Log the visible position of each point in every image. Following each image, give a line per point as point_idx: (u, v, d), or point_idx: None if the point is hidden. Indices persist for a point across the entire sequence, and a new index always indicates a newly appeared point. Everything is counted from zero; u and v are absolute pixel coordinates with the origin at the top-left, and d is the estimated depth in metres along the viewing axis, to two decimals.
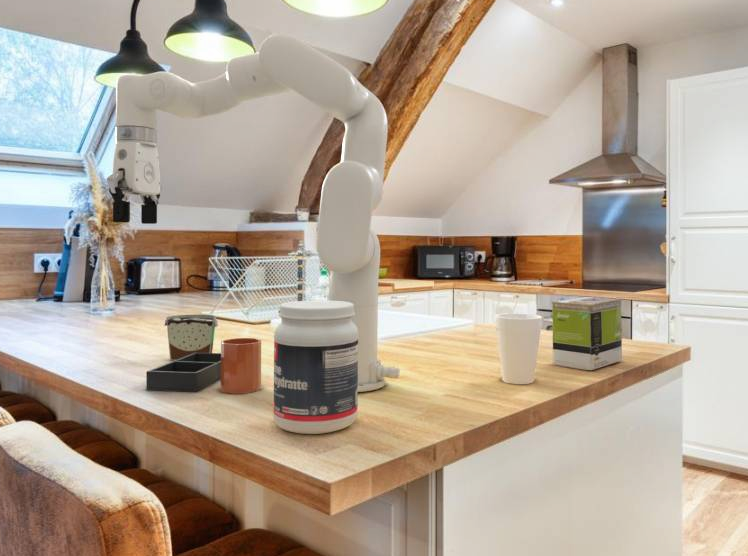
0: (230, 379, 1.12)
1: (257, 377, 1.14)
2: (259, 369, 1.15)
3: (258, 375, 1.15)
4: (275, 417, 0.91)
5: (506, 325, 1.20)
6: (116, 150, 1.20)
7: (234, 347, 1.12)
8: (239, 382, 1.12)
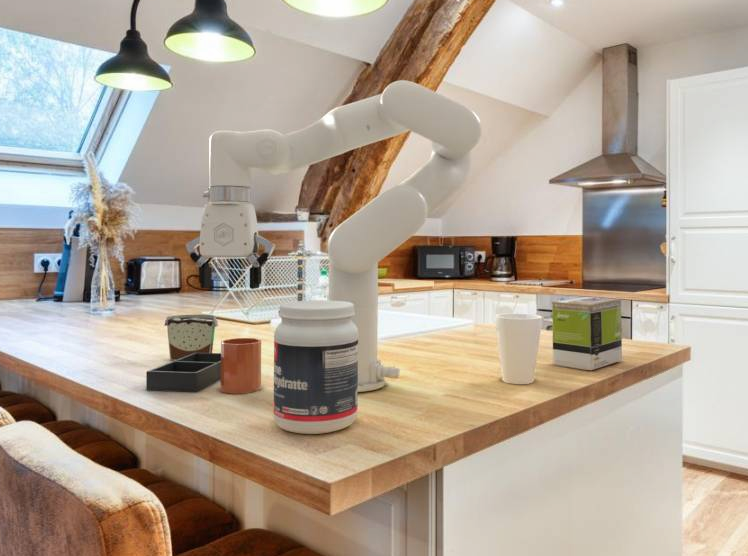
0: (230, 379, 1.12)
1: (257, 377, 1.14)
2: (259, 369, 1.15)
3: (258, 375, 1.15)
4: (275, 417, 0.91)
5: (506, 325, 1.20)
6: None
7: (234, 347, 1.12)
8: (239, 382, 1.12)
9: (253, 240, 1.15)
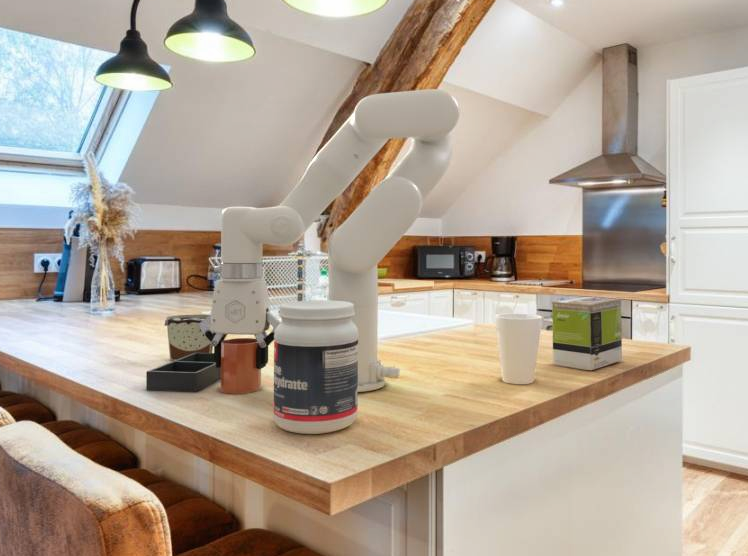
0: (230, 379, 1.12)
1: (257, 377, 1.14)
2: (259, 369, 1.15)
3: (258, 375, 1.15)
4: (275, 417, 0.91)
5: (506, 325, 1.20)
6: None
7: (234, 347, 1.12)
8: (239, 382, 1.12)
9: (265, 317, 1.14)
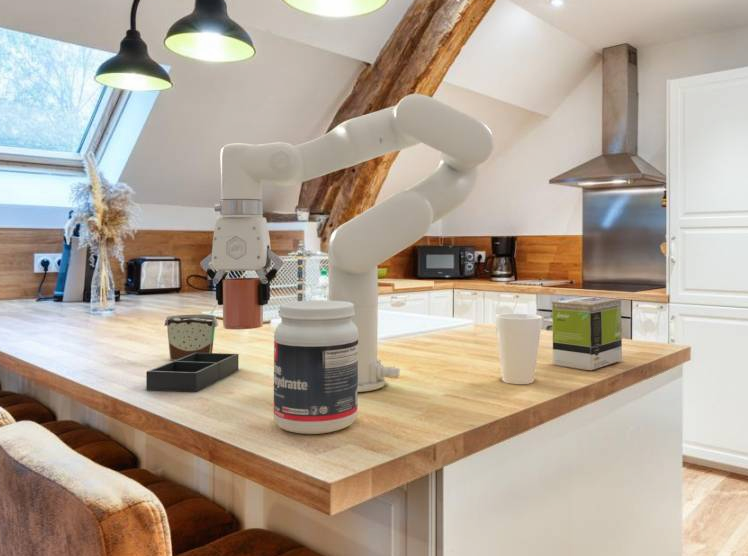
0: (232, 315, 1.12)
1: (259, 314, 1.15)
2: (261, 306, 1.15)
3: (260, 312, 1.15)
4: (275, 417, 0.91)
5: (506, 325, 1.20)
6: None
7: (236, 283, 1.12)
8: (241, 318, 1.12)
9: (266, 253, 1.14)
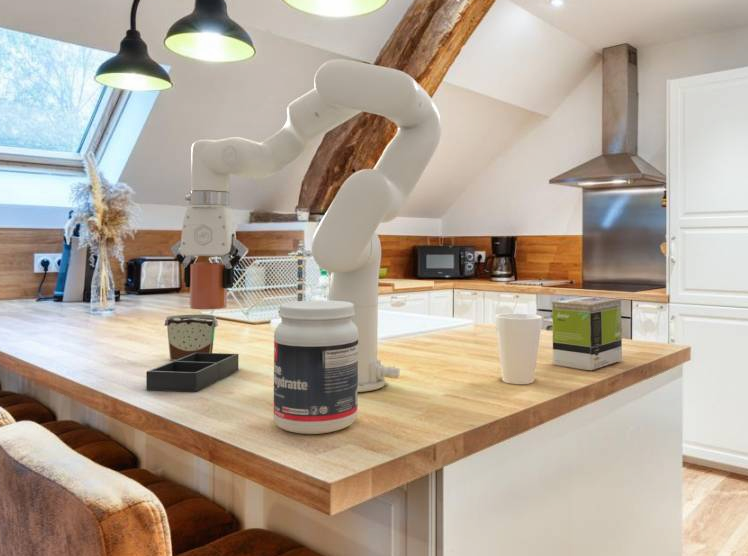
0: (198, 296, 1.23)
1: (223, 296, 1.25)
2: (225, 289, 1.26)
3: (224, 294, 1.25)
4: (275, 417, 0.91)
5: (506, 325, 1.20)
6: None
7: (202, 267, 1.23)
8: (206, 299, 1.23)
9: (230, 241, 1.25)
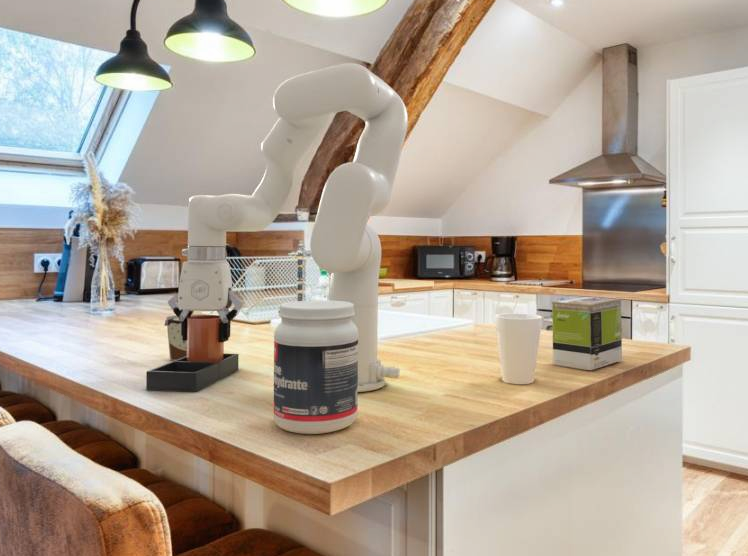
0: (194, 350, 1.24)
1: (219, 350, 1.26)
2: (221, 342, 1.27)
3: (220, 348, 1.27)
4: (275, 417, 0.91)
5: (506, 325, 1.20)
6: None
7: (198, 322, 1.24)
8: (202, 353, 1.24)
9: (227, 295, 1.26)
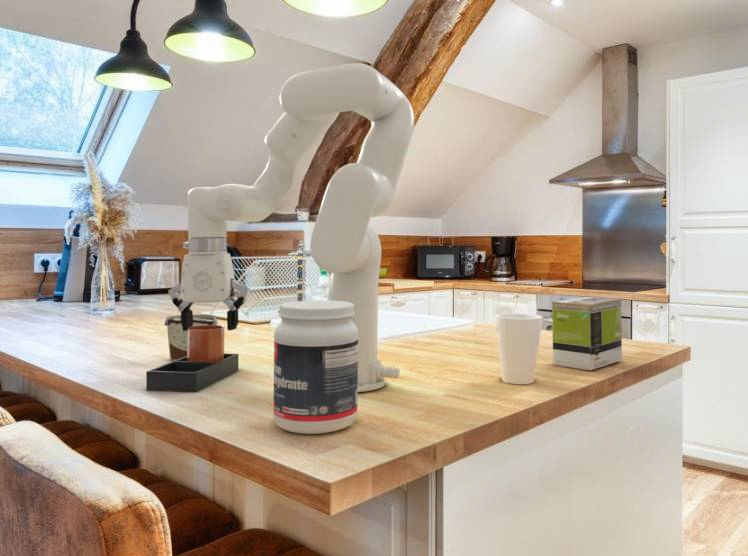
0: (195, 361, 1.24)
1: (220, 360, 1.26)
2: (222, 353, 1.27)
3: (221, 358, 1.27)
4: (275, 417, 0.91)
5: (506, 325, 1.20)
6: None
7: (199, 333, 1.24)
8: None
9: (229, 286, 1.26)
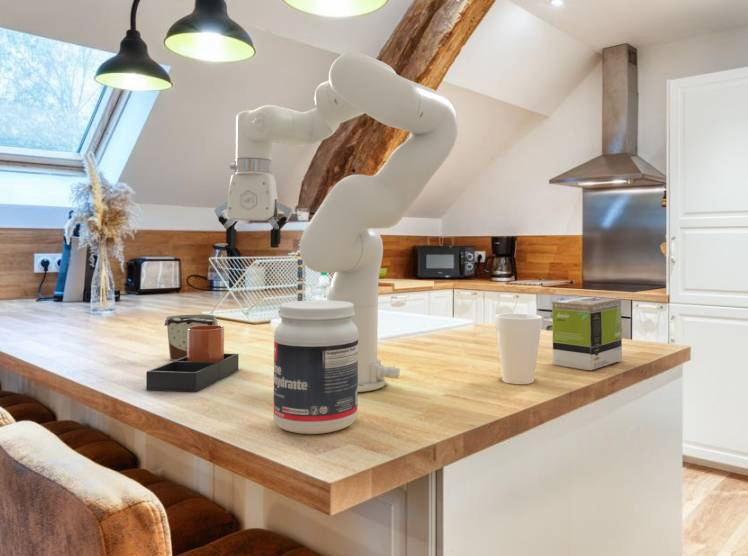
0: (195, 361, 1.24)
1: (220, 360, 1.26)
2: (222, 353, 1.27)
3: (221, 358, 1.27)
4: (275, 417, 0.91)
5: (506, 325, 1.20)
6: None
7: (198, 333, 1.24)
8: None
9: (274, 205, 1.32)
